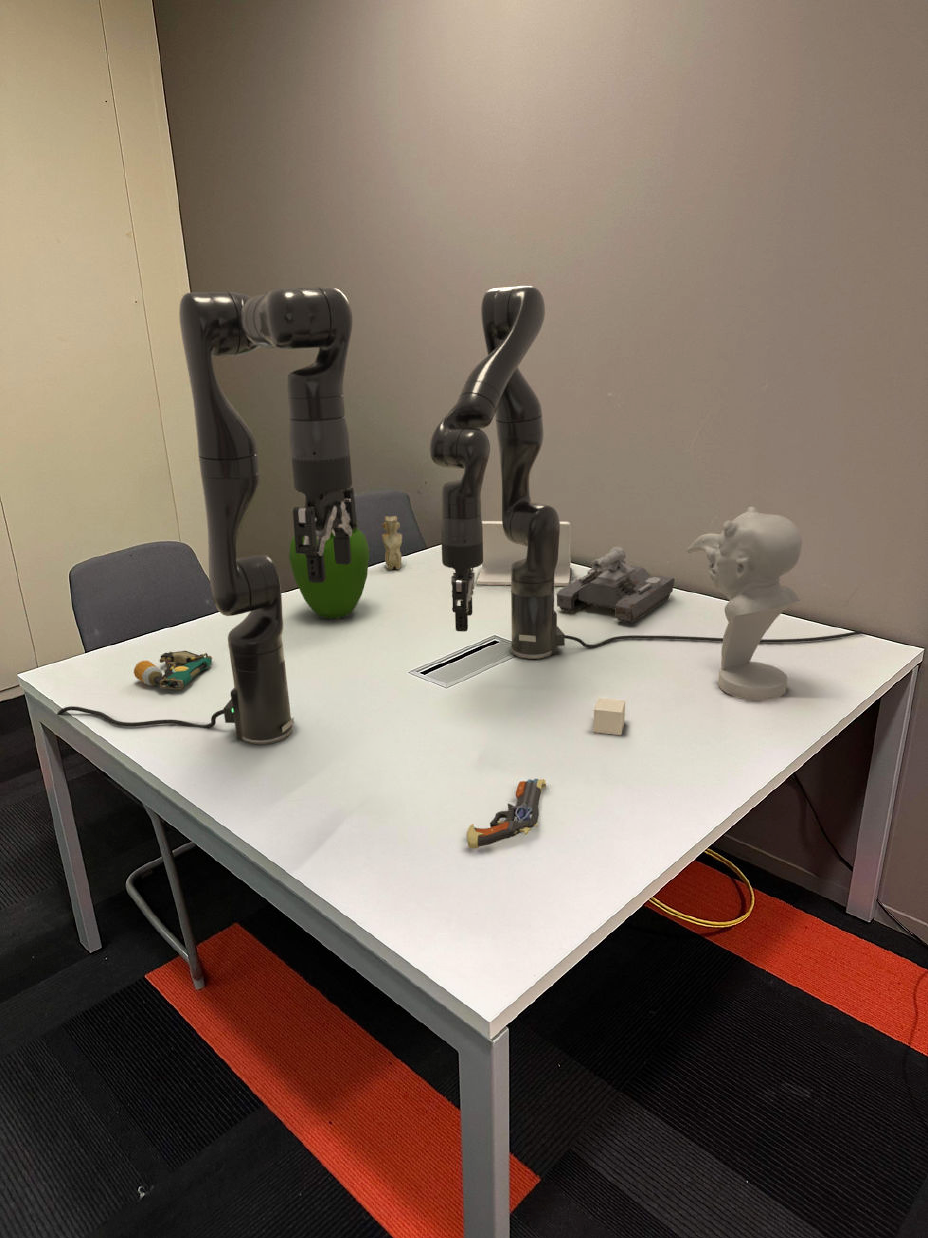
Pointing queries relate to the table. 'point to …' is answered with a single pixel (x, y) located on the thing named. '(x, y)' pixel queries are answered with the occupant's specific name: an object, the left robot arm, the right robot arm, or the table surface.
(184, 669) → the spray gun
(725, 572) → the bust sculpture
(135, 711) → the table surface
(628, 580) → the toy
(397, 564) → the sculpture
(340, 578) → the vase
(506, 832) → the toy gun
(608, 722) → the beige cube
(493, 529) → the tablet stand
